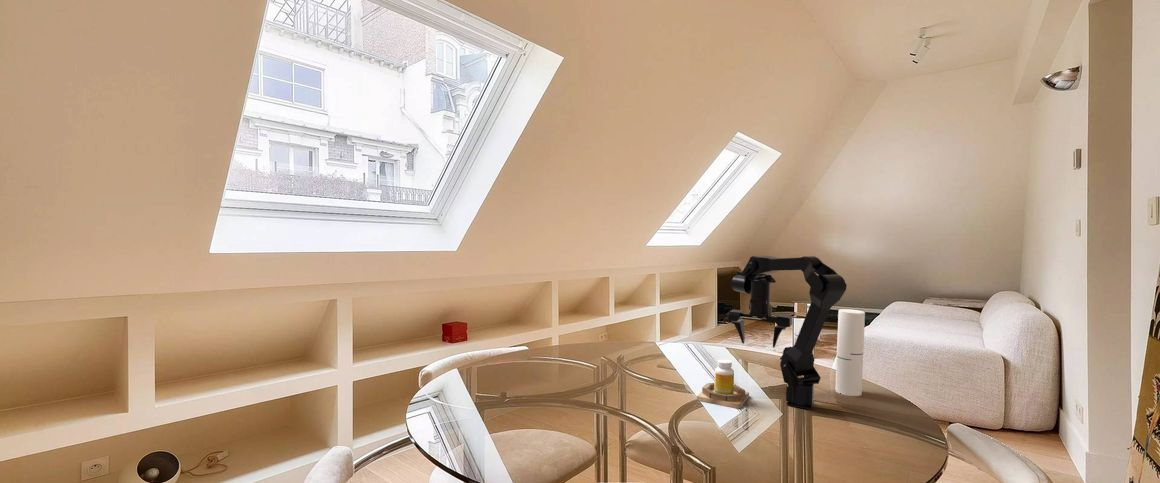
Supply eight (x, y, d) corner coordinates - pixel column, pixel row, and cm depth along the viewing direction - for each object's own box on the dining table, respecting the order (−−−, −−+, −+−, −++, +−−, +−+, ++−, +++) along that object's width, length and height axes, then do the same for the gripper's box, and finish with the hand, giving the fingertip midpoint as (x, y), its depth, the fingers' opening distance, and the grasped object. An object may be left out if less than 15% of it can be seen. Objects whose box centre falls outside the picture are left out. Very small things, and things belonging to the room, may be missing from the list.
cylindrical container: (864, 397, 154) (868, 314, 153) (839, 395, 155) (842, 312, 154) (857, 389, 161) (860, 309, 160) (832, 387, 162) (835, 308, 161)
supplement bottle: (735, 397, 147) (736, 364, 147) (715, 396, 148) (716, 363, 148) (731, 391, 153) (732, 359, 152) (712, 390, 153) (713, 358, 153)
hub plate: (749, 396, 152) (749, 387, 152) (739, 408, 142) (739, 399, 142) (709, 388, 159) (709, 380, 158) (696, 400, 148) (697, 391, 148)
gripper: (795, 295, 163) (794, 344, 163) (736, 290, 172) (734, 336, 173) (790, 299, 153) (788, 351, 154) (727, 294, 163) (725, 343, 163)
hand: (758, 345), depth 161 cm, fingers open, 9 cm apart
